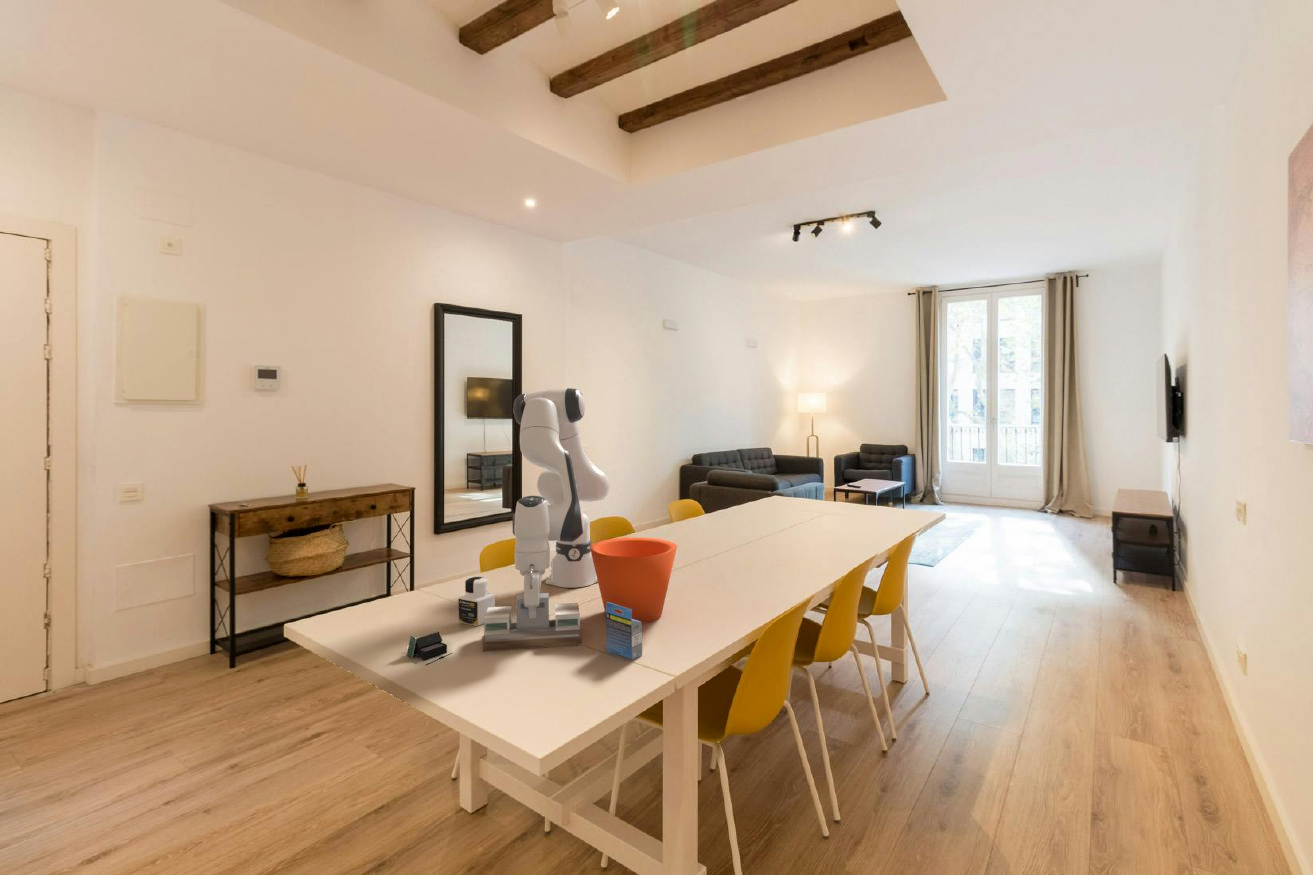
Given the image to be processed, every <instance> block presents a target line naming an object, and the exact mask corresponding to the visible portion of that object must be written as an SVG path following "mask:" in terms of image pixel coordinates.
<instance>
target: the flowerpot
mask: <svg viewBox="0 0 1313 875" xmlns="http://www.w3.org/2000/svg"><path fill="white" fill-rule="evenodd" d="M677 549H678V545H677V544H676V543H674V542H673V541H669V540H666V539H661V538H654V537H653V538H652V537H635V536H633V537H617V538H610V539H605V540H599V541H596V542H594V543H591V546H590V551H591V555H592V559H593V563H594V567H595V572H596V576H597V580H598V582H597V583H598V584H597V585H598V588H599V592H600V595H601V596H600V597H601V600H602V604H603V609H604V614H605V615H606V606H607V602H609V603H612V604H616V605H619V606H622V607H625V608H628V609H632V617H631V619H634V620H637V621H641V624H647V623H652V622H655V621H657V620H658V619H661V617H662V614H663V610H664V606H665V601H666V595H667V592H668V590H669V589H668V588H669V584H670V578H671V575H672V571H673V566H674V561H675V557H676V553H677ZM614 611H615V612H617V613H620V614H623V612H622V611H620V610H619V609H618V610H616V609H614ZM654 620H655V621H654Z"/></svg>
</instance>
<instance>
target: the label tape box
mask: <svg viewBox="0 0 1313 875" xmlns="http://www.w3.org/2000/svg"><path fill="white" fill-rule="evenodd" d="M614 609H616V610H618V609H619V610H620V611H622V612H623V614H620V613H617V612H615V611H614ZM631 617H632V609H628V608H625V607H622V606H619V605H616V604H612V603H609V602H607V606H606V614H605V621H606V622H605V627H606V630H605V631H606V652H610V653H611V654H615V655H619V656H621V657H625V658H626V659H629V660H633V661H634V660H635V659H638V658H639V657H641V656H642V655H643V637H642V636H643V633H642V628H643V627H642V624H643V623H642V624H641V621H637V620H634V619H631Z"/></svg>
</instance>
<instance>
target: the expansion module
mask: <svg viewBox="0 0 1313 875" xmlns="http://www.w3.org/2000/svg"><path fill="white" fill-rule="evenodd" d="M549 594H550V593H549V592H543V593H541V592H540V600H539V606H538V607H536V618H529V609H528V607H525V606H524V593H523V594H517V596H516V601H515V602H516V622H517V630H534V629H549V620H550V609H549V608H550V603H549V602H550V601H549V600H550V599H549V598H550V597H549Z"/></svg>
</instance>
